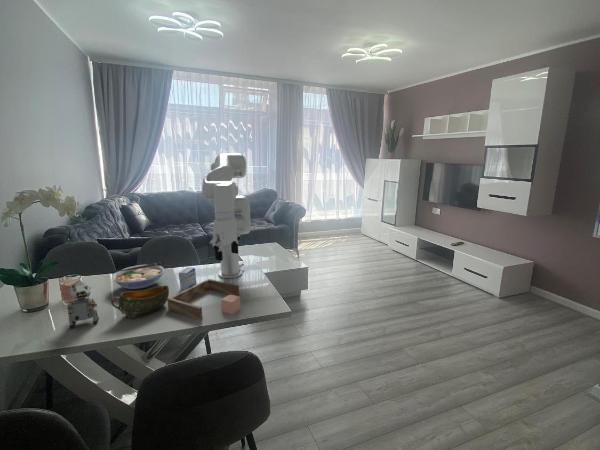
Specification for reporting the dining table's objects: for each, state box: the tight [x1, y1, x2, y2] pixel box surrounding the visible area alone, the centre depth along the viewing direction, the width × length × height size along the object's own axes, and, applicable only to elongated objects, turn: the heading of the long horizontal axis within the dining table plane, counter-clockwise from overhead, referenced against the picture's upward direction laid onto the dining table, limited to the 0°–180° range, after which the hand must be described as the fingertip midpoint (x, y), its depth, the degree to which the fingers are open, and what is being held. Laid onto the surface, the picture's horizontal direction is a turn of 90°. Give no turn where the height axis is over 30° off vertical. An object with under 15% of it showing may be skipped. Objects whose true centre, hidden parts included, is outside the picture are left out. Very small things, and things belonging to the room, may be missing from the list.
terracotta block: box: [220, 294, 242, 315], centre depth 133 cm, size 6×6×6 cm
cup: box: [110, 285, 170, 319], centre depth 132 cm, size 13×20×10 cm, turn 107°
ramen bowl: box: [108, 261, 165, 290], centre depth 157 cm, size 25×23×8 cm
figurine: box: [66, 282, 100, 330], centre depth 123 cm, size 9×12×15 cm
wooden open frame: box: [166, 278, 240, 321], centre depth 140 cm, size 24×18×5 cm
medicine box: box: [178, 266, 197, 291], centre depth 156 cm, size 8×4×9 cm, turn 168°
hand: (227, 256), depth 130 cm, fingers open, 9 cm apart
